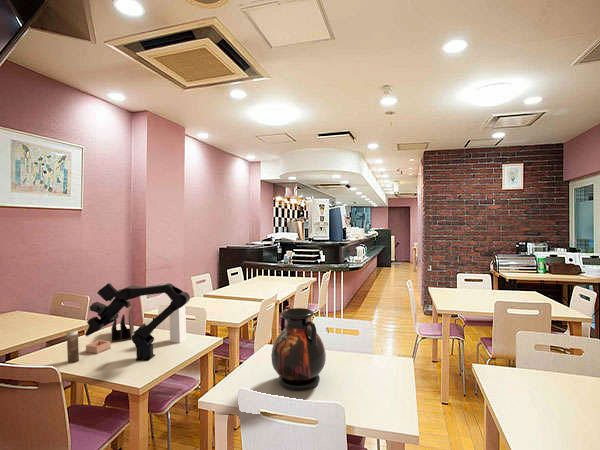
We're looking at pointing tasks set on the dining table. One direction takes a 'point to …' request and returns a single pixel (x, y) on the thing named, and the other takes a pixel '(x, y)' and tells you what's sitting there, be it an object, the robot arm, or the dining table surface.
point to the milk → (178, 325)
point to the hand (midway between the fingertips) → (91, 332)
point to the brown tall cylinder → (72, 346)
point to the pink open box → (98, 346)
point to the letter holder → (123, 329)
